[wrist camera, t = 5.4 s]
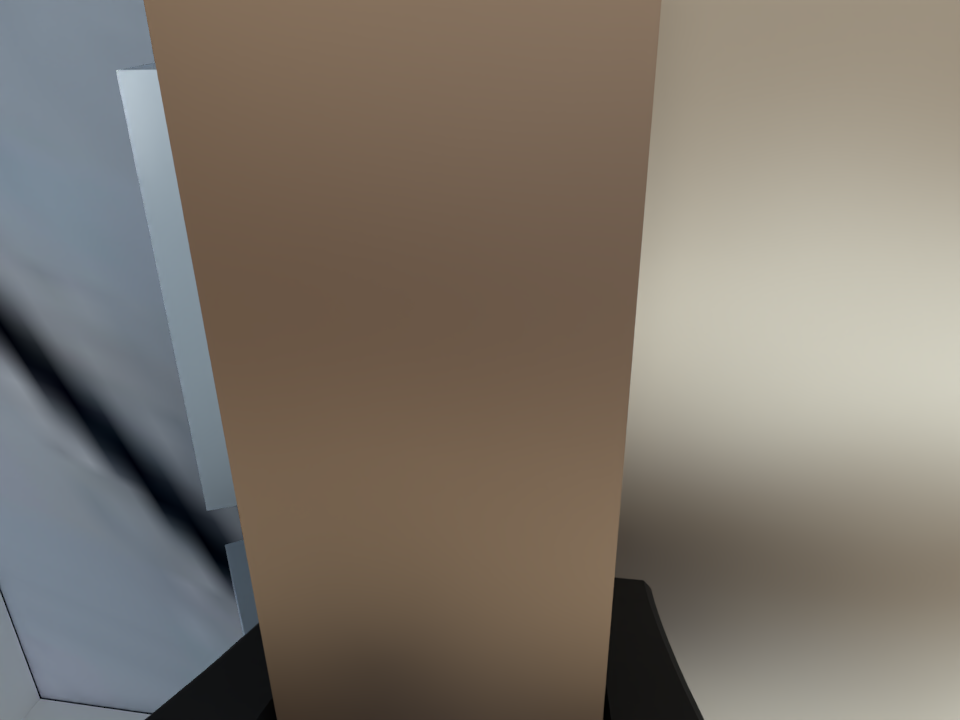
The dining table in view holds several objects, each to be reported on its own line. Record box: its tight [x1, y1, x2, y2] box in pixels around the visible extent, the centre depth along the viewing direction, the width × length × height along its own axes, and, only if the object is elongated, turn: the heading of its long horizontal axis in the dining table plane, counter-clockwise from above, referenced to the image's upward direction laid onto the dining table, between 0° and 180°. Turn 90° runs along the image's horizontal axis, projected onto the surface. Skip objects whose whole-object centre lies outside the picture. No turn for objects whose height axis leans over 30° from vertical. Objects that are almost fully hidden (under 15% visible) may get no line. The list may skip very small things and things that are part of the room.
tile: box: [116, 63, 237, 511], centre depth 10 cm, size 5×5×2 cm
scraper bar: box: [144, 0, 662, 720], centre depth 9 cm, size 16×3×4 cm, turn 1°
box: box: [0, 593, 150, 720], centre depth 13 cm, size 20×13×4 cm, turn 1°
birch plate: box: [615, 0, 960, 720], centre depth 12 cm, size 20×13×3 cm, turn 1°
